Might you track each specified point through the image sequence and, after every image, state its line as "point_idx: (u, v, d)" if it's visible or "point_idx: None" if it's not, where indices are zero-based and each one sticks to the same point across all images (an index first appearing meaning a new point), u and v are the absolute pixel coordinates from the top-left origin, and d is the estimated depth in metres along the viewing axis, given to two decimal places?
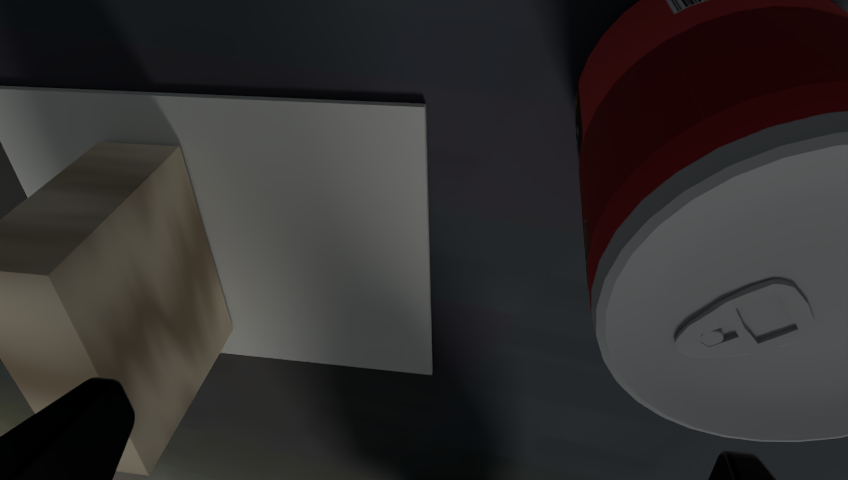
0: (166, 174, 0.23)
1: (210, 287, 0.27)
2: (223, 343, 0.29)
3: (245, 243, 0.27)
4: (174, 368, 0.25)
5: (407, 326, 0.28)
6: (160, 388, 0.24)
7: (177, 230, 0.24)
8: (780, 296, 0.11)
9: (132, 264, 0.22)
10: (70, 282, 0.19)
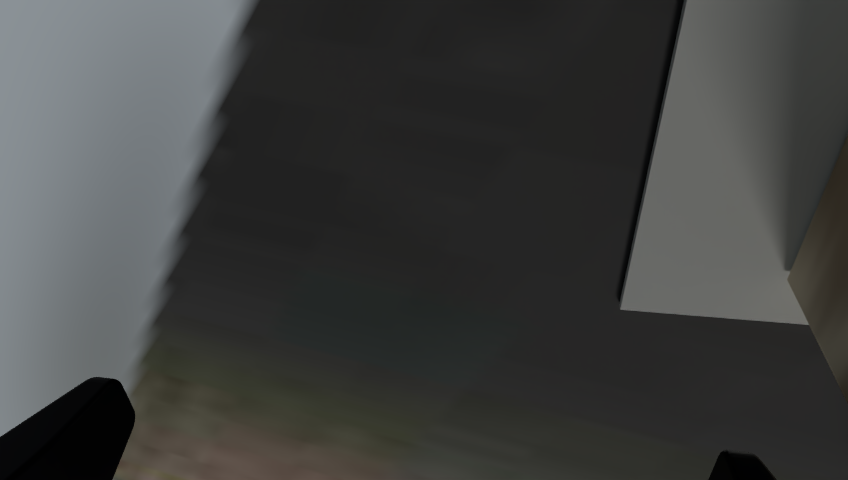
0: None
1: None
2: None
3: None
4: None
5: None
6: None
7: None
8: None
9: None
10: None
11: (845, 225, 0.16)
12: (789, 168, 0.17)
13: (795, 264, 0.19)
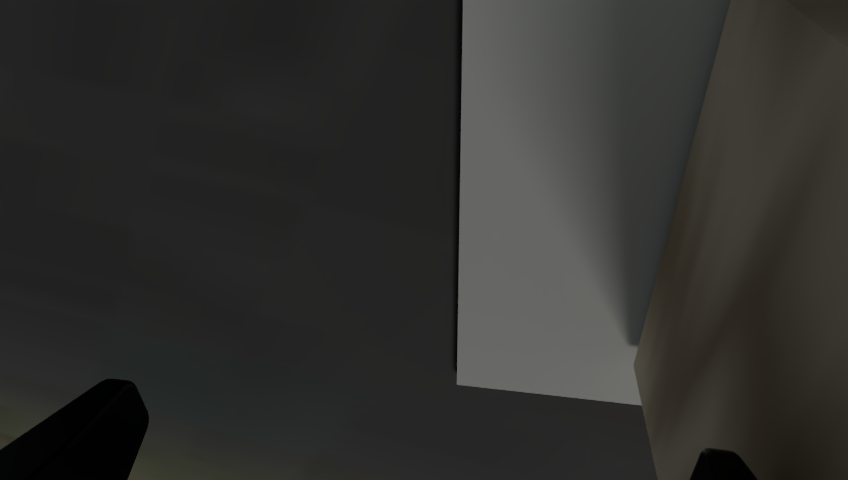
0: None
1: None
2: None
3: None
4: None
5: None
6: None
7: None
8: None
9: None
10: None
11: (672, 320, 0.13)
12: (615, 239, 0.15)
13: (638, 350, 0.16)
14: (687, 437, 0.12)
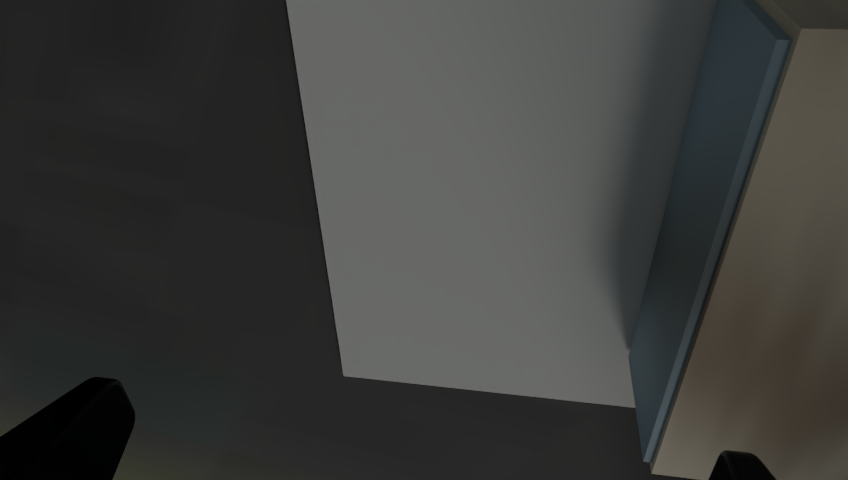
0: None
1: None
2: None
3: None
4: None
5: None
6: None
7: None
8: None
9: None
10: None
11: (771, 387, 0.12)
12: (466, 232, 0.15)
13: (662, 455, 0.13)
14: None
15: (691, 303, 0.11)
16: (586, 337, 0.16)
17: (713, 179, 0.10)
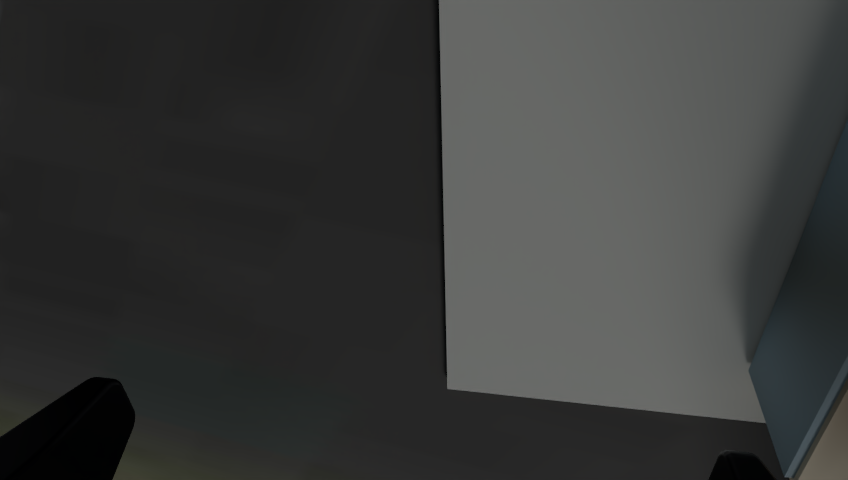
0: None
1: None
2: None
3: None
4: None
5: None
6: None
7: None
8: None
9: None
10: None
11: None
12: (594, 246, 0.15)
13: (808, 471, 0.13)
14: None
15: None
16: (705, 350, 0.16)
17: None
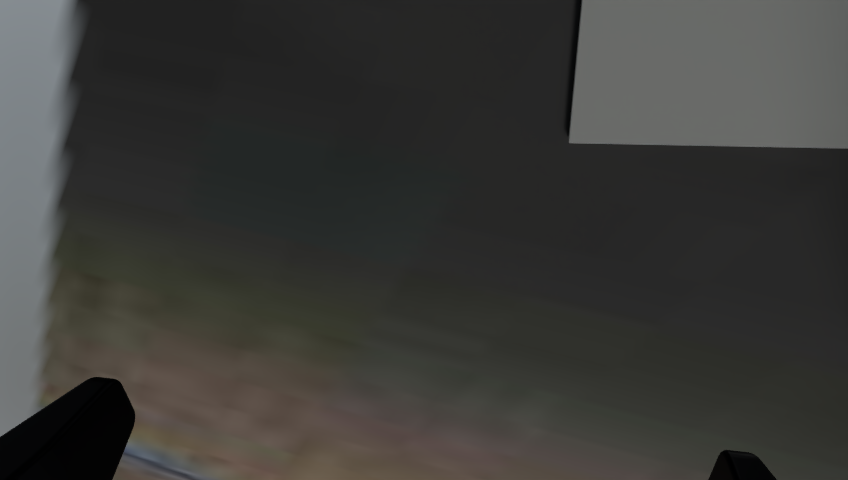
0: None
1: None
2: None
3: None
4: None
5: None
6: None
7: None
8: None
9: None
10: None
11: None
12: None
13: None
14: None
15: None
16: None
17: None
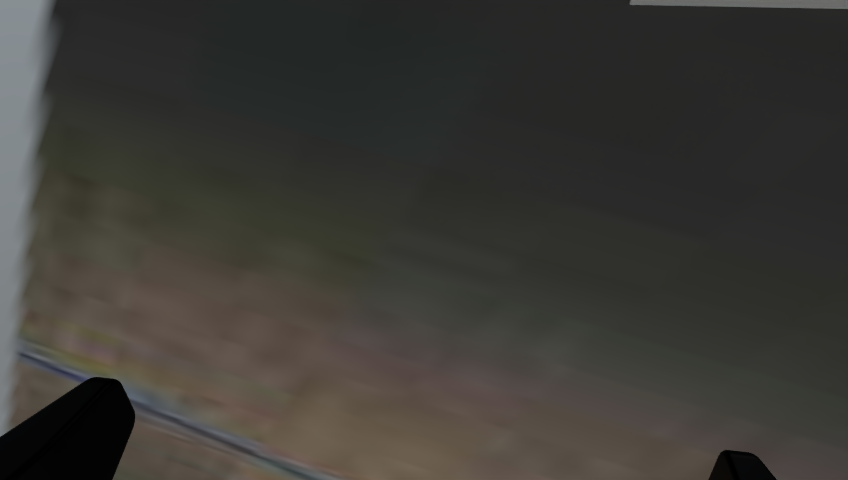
0: None
1: None
2: None
3: None
4: None
5: None
6: None
7: None
8: None
9: None
10: None
11: None
12: None
13: None
14: None
15: None
16: None
17: None
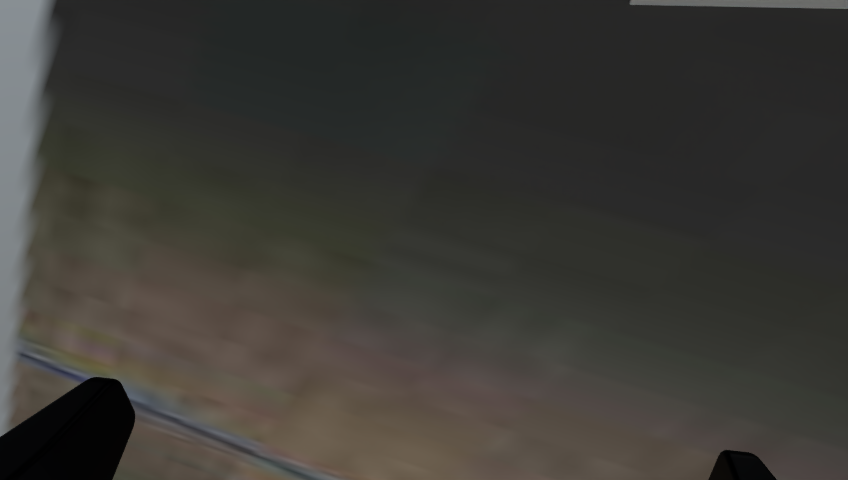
0: None
1: None
2: None
3: None
4: None
5: None
6: None
7: None
8: None
9: None
10: None
11: None
12: None
13: None
14: None
15: None
16: None
17: None
